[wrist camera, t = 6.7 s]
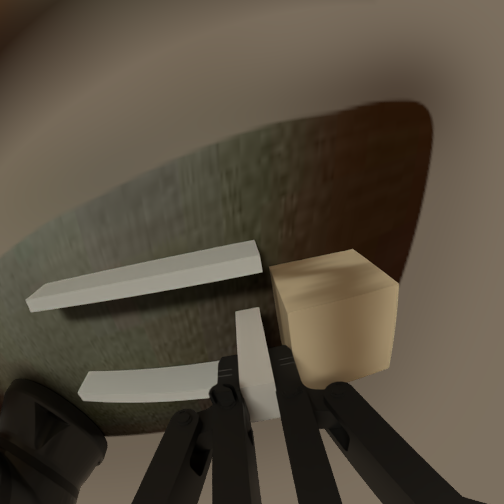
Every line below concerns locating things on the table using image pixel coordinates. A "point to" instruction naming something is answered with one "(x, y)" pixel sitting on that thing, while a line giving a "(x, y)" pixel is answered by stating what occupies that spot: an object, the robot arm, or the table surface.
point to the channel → (139, 283)
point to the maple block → (335, 316)
